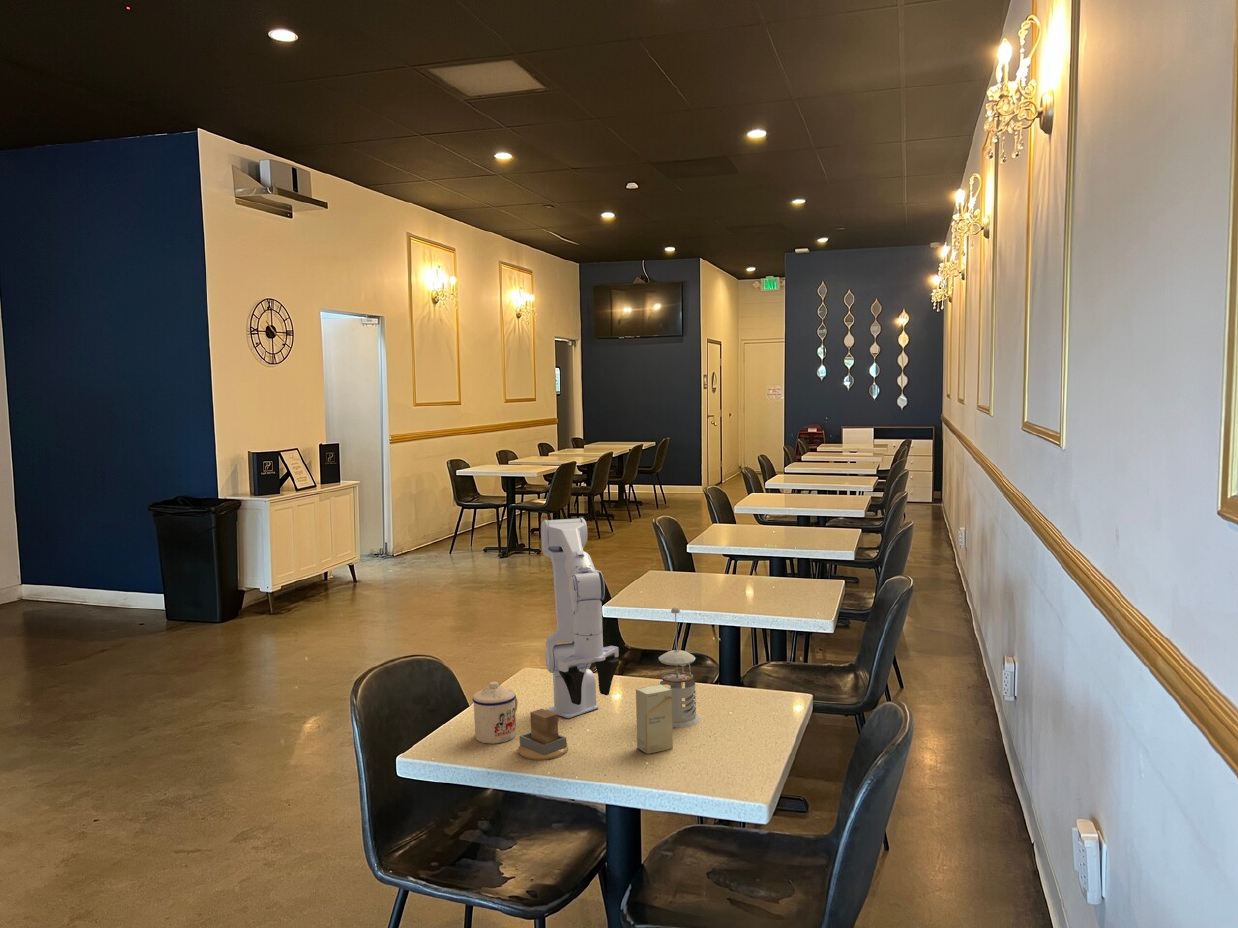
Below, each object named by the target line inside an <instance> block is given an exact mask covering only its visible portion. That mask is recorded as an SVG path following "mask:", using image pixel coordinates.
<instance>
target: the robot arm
mask: <svg viewBox="0 0 1238 928" xmlns="http://www.w3.org/2000/svg"><path fill="white" fill-rule="evenodd" d="M540 537H541V538H540V539H541V549H542V550H541V551H542V553H543V554H542V555H543V556H545V557H547V558H550V561H551V564H552V573H553V590H554V600H555V601H554V602H555V617H556V618H555V619H556V629H555V630H554V631H553V632H552V633H551V634H550V635H549V636H547V638H546V640H545V657H544V658H545V666H546V669H547V671H548V672H549V673H550V674H552V680H553V683H552V684H553V706H550V707H547V708H545V710H547V711H550V712H553V713H556V714H558V716H559V717H563V718H565V719H570V718H573V717H577V716H579V715H582V714H585V713H588V712H591V711H594V710H596V709H599V707H600V706H599V705H597V688H596V687H597V686H596V684H597V683H596V677H595V675H594V673H593V671H592V670H591V669H590V667H591V665H592V664H593V663H594V664H595V667H596V672H597V677H598V678H597V679H598V690H599V694H600V695H604V696H609V695H610V690H611V686H612V682H613V679H614V676H615V673H616V671H617V669H618V667H619V666H620V659H618V657H619V651H620V649H619V646H614V645H609V646H604V641H603V639H604V637H603V634H604V633H603V610H602V608H603V607H602V601H604V600H605V594H606V593H605V592H606V591H605V589H606V587H605V586H606V585H605V580H604V576H603V573H602V571H601V570H598V569H596V568H595V565H594V562H593V559H592V557H591V556H590V554H589V553H588V552H586V551H584V549H585V546H586V544H587V542H588V526H587V521H586V520H585V518H584V517H579V518H578V517H577V518H565V519H563V518H562V519H552V520H551V519H550V520H549V519H548V520H547V519H543V521H542V522H541V524H540ZM601 600H602V601H601ZM569 642H570V643H569Z"/></svg>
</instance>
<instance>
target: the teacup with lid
mask: <svg viewBox="0 0 1238 928" xmlns="http://www.w3.org/2000/svg"><path fill="white" fill-rule="evenodd" d="M471 700H472V702H473V712H474V713H473V715H474V737H475V740H476V741H478V742H480V743H482V744H502V743H506V742H509V741H512V740H513V739H514V738H515V737H516V735H517V721H516V720H517V718H516V717H517V715H516V712H517V710H518V703H519V702H518V698H517V695H516V693H515V691H514V690H513V689H511V688H507V687H504V686H502V685H499V682H498V681H491V682H489V683H488V686H487V687H485V688H483V689H481V690H479V691H477V692H475V693H474V694H473V696H472V699H471Z"/></svg>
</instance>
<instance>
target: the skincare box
mask: <svg viewBox="0 0 1238 928" xmlns="http://www.w3.org/2000/svg"><path fill="white" fill-rule="evenodd" d="M635 699H636V700H635V706H636V707H635V709H636V746H637V748H638V749H639V750H641V751H642V752H644V753H646V754H652V753H658V752H663V751H668V750H672V749H673V748H674V742H673V741H674V738H673V727H672V690H671V689H670V687H667V686H665V685H660V684H658V685H651V686H646V687H641V688H635Z"/></svg>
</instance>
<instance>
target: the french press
mask: <svg viewBox="0 0 1238 928" xmlns="http://www.w3.org/2000/svg"><path fill="white" fill-rule="evenodd" d="M670 612H671V613H672V614H674V622H675V625H674V626H675V650H673V649H672V650H669V651H667V652H665V653H663V654H661V655H660V656H658V658H657V659H658V661H659V662H660V663H661V664H664V665H668V666H676V670H675V671H669V672H665V673H663V674H661V676H660V678H661V681H660V682H659V685H664V686H665V685H667V686H670V687H669V688H670V689H671V690H672V728H689V727H692V726H696V725H698V724H699V723H700V722H701V720H702V718H701V717H700V716H699V715H698V714H697V704H696V703H697V702H696V699H697V698H696V697H697V696H696V694H697V693H696V682H695V681H694V680H693V679H694V677H695V676H694V674H692V673H691V671H692V670H691V664H692V663H694V662H695V660H696V657H695V655H693V654H691V653H690V652H688V651H685V650H678V642H677V641H678V638H677V635H678V634H677V632H678V631H677V614H680V613H681V611H680V608H679V607H677V606H676V607H675V606H674V607H672V608H671V610H670ZM687 665H688V667H689V672H688V671H685V669H684V667H686V666H687ZM679 666H680V667H682V671H678V668H679ZM683 685H684V688H683ZM683 699H684V700H683ZM683 705H685V706H683Z"/></svg>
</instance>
